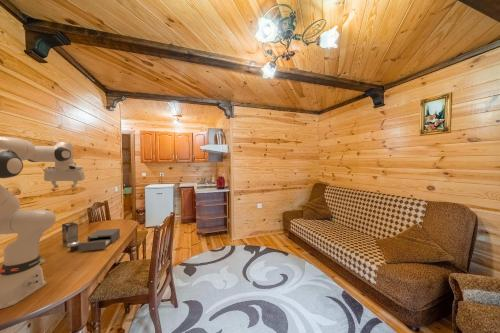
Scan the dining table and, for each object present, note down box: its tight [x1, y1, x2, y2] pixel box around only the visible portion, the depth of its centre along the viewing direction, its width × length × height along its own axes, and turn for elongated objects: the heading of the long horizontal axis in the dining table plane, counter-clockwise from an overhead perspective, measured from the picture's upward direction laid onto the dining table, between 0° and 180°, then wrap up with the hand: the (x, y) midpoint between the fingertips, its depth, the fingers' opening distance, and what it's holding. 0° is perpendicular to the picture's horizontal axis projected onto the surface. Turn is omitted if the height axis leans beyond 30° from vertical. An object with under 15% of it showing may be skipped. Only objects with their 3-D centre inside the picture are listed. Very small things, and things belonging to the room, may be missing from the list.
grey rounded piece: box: [69, 245, 78, 253], centre depth 133 cm, size 4×4×4 cm
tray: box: [77, 239, 111, 252], centre depth 138 cm, size 14×16×5 cm
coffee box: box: [61, 221, 79, 249], centre depth 142 cm, size 9×6×16 cm
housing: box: [87, 228, 121, 245], centre depth 149 cm, size 14×16×7 cm
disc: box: [68, 239, 82, 248], centre depth 133 cm, size 7×7×2 cm
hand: (64, 187), depth 123 cm, fingers open, 8 cm apart
